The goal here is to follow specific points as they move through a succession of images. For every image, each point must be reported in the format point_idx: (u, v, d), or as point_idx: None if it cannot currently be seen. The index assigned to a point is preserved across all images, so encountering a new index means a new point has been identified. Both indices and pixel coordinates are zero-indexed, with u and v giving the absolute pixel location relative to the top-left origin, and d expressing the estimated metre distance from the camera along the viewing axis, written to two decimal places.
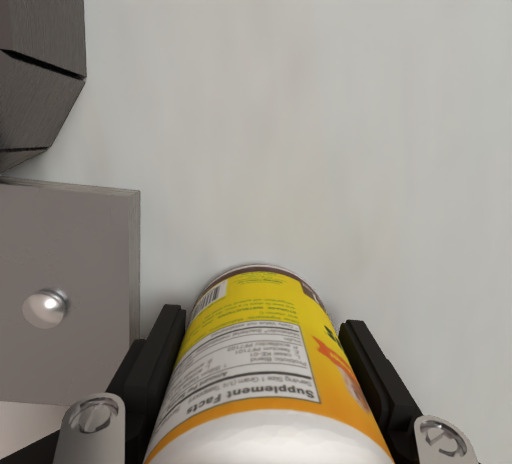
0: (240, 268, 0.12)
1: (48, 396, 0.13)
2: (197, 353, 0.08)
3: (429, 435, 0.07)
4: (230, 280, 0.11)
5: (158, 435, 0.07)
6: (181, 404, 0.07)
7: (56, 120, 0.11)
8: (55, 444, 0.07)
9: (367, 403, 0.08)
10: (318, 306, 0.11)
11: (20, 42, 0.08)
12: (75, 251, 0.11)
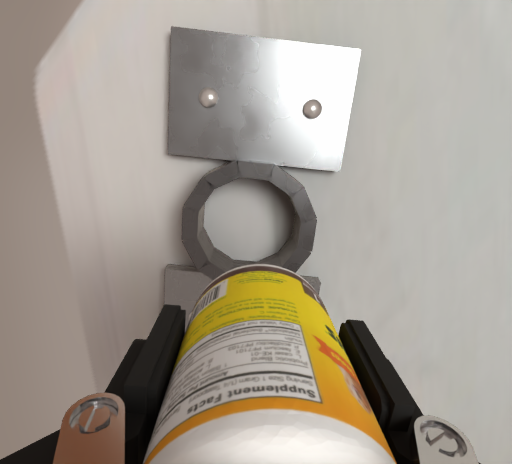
0: (240, 267, 0.12)
1: None
2: (197, 352, 0.08)
3: (429, 435, 0.07)
4: (230, 279, 0.11)
5: (158, 435, 0.06)
6: (181, 404, 0.07)
7: None
8: (55, 444, 0.07)
9: (368, 403, 0.08)
10: (319, 305, 0.11)
11: (311, 247, 0.26)
12: None
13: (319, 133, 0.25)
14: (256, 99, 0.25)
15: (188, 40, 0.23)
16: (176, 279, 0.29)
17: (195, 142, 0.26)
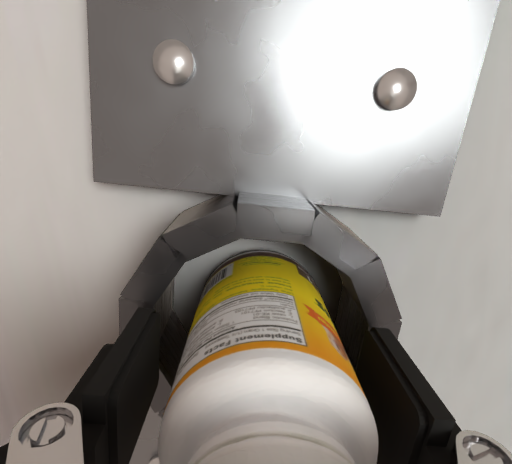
0: (244, 253, 0.14)
1: None
2: (209, 316, 0.10)
3: (472, 450, 0.07)
4: (236, 263, 0.13)
5: (182, 373, 0.08)
6: (199, 350, 0.09)
7: None
8: (4, 458, 0.06)
9: (347, 356, 0.10)
10: (311, 285, 0.13)
11: None
12: None
13: (405, 140, 0.12)
14: (277, 68, 0.12)
15: None
16: None
17: (149, 158, 0.12)
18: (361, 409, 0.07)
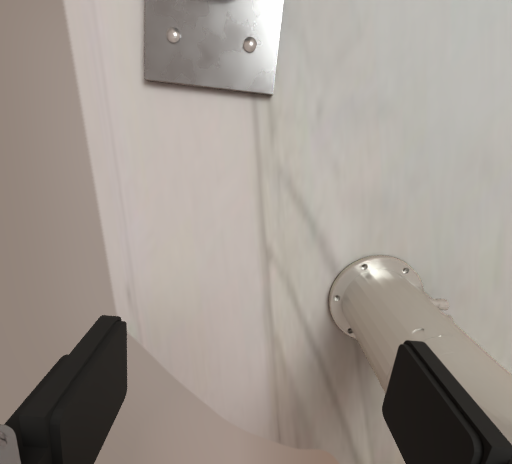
0: None
1: (243, 86, 0.35)
2: None
3: None
4: None
5: None
6: None
7: None
8: None
9: None
10: None
11: None
12: (263, 21, 0.33)
13: None
14: None
15: None
16: None
17: None
18: None
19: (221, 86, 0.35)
